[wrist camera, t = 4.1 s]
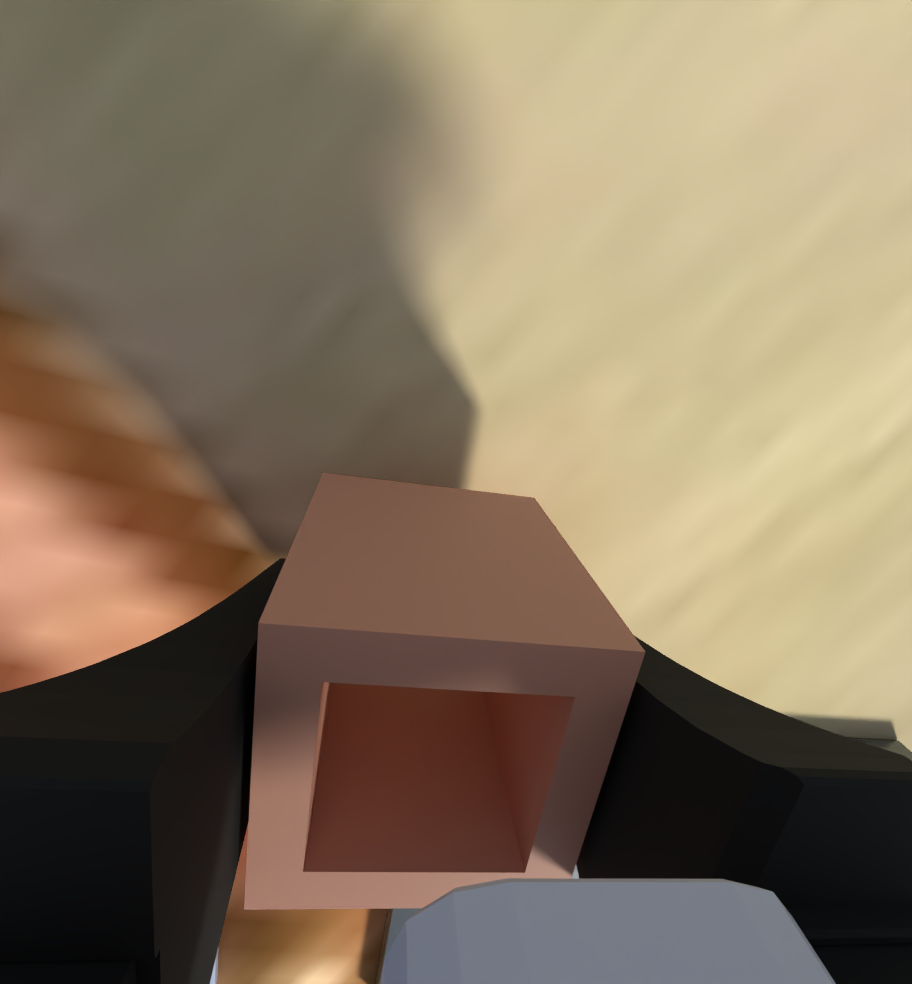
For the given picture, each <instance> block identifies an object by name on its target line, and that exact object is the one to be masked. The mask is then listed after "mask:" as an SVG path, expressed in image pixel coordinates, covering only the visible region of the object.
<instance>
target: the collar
mask: <svg viewBox="0 0 912 984" xmlns="http://www.w3.org/2000/svg"><path fill="white" fill-rule="evenodd" d="M644 655H645V651H644V649H643V648H642V646H641V645H640V644H639V642H638V641H637V639H636V638H635V637H634V635H633V634H632V633H631V631H630V630H629V628H628V627H627V626H626V624H625V623H624V621H623V620H622V619H621V617H620V616H619V614H618V613H617V612H616V610H615V609H614V608H613V606H612V605H611V603H610V602H609V601H608V599H607V598H606V596H605V595H604V594H603V592H602V591H601V590H600V588H599V587H598V585H597V584H596V583H595V581H594V580H593V578H592V577H591V576H590V574H589V573H588V572H587V570H586V569H585V567H584V566H583V565H582V563H581V562H580V560H579V559H578V558H577V556H576V555H575V554H574V552H573V551H572V549H571V548H570V547H569V545H568V544H567V542H566V541H565V540H564V538H563V537H562V535H561V534H560V533H559V531H558V530H557V529H556V527H555V526H554V524H553V523H552V522H551V520H550V519H549V517H548V516H547V515H546V513H545V512H544V511H543V509H542V508H541V506H540V505H539V504H538V502H537V501H536V499H535V498H531V497H523V496H514V495H506V494H498V493H489V492H481V491H472V490H464V489H456V488H447V487H439V486H431V485H422V484H414V483H406V482H397V481H389V480H381V479H372V478H364V477H355V476H347V475H339V474H330V473H323V474H322V476H321V478H320V481H319V483H318V485H317V488H316V490H315V492H314V495H313V497H312V499H311V502H310V504H309V506H308V509H307V511H306V513H305V516H304V518H303V520H302V523H301V525H300V527H299V530H298V532H297V534H296V537H295V539H294V541H293V544H292V546H291V548H290V551H289V553H288V555H287V558H286V560H285V562H284V565H283V567H282V569H281V572H280V574H279V576H278V579H277V581H276V583H275V586H274V588H273V590H272V593H271V595H270V597H269V600H268V602H267V604H266V607H265V609H264V611H263V614H262V616H261V618H260V621H259V623H258V642H257V662H256V682H255V703H254V723H253V743H252V764H251V784H250V804H249V824H248V845H247V865H246V885H245V906H244V910H252V909H393V908H423V907H425V906H427V905H428V904H430V903H431V902H433V901H435V900H436V899H438V898H440V897H441V896H443V895H445V894H446V893H448V892H449V891H451V890H453V889H454V888H457V887H462V886H468V885H473V884H478V883H484V882H489V881H495V880H500V879H506V878H552V879H571V878H572V875H573V872H574V869H575V866H576V863H577V860H578V857H579V854H580V850H581V847H582V844H583V841H584V838H585V835H586V832H587V829H588V826H589V823H590V820H591V817H592V814H593V811H594V808H595V805H596V802H597V799H598V795H599V792H600V789H601V786H602V783H603V780H604V777H605V774H606V771H607V768H608V765H609V762H610V759H611V756H612V753H613V750H614V747H615V743H616V740H617V737H618V734H619V731H620V728H621V725H622V722H623V719H624V716H625V713H626V710H627V707H628V704H629V701H630V698H631V695H632V692H633V688H634V685H635V682H636V679H637V676H638V673H639V670H640V667H641V664H642V661H643V658H644Z"/></svg>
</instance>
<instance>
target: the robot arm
mask: <svg viewBox="0 0 912 984" xmlns="http://www.w3.org/2000/svg"><path fill="white" fill-rule="evenodd" d="M285 560H286V559H282V558H281V559H279V560H278V561H277V562H275V563H274V564H272V565H271V566H270V567H268V568H267V569H266V570H264V571H263V572H262V573H261V574H259V575H258V576H257V577H255V578H254V579H253V580H251V581H250V582H249V583H247V584H246V585H245V586H243V587H242V588H240V589H239V590H238V591H236V592H235V593H234V594H232V595H231V596H229V597H228V598H226V599H225V600H223V601H222V602H220V603H218V604H217V605H215V606H214V607H212V608H211V609H209V610H207V611H206V612H204V613H203V614H201V615H199V616H198V617H196V618H194V619H193V620H191V621H189V622H187V623H185V624H184V625H182V626H180V627H178V628H176V629H174V630H172V631H170V632H168V633H166V634H164V635H162V636H160V637H158V638H156V639H154V640H152V641H150V642H147V643H145V644H143V645H140V646H138V647H135V648H133V649H131V650H128V651H126V652H123V653H121V654H118V655H116V656H113V657H111V658H108V659H106V660H103V661H101V662H99V663H96V664H93V665H90V666H88V667H85V668H82V669H79V670H76V671H73V672H70V673H67V674H64V675H61V676H58V677H54V678H51V679H48V680H45V681H41V682H38V683H35V684H32V685H28V686H25V687H21V688H17V689H14V690H10V691H6V692H2V693H0V984H216V982H217V978H218V946H219V941H220V937H221V933H222V929H223V924H224V920H225V916H226V911H227V907H228V903H229V899H230V895H231V891H232V886H233V882H234V878H235V874H236V870H237V866H238V862H239V857H240V853H241V849H242V845H243V841H244V837H245V833H246V829H247V825H248V821H249V804H250V784H251V764H252V743H253V723H254V703H255V682H256V662H257V642H258V623H259V621H260V618H261V616H262V614H263V611H264V609H265V607H266V604H267V602H268V600H269V597H270V595H271V593H272V590H273V588H274V586H275V583H276V581H277V579H278V576H279V574H280V572H281V569H282V567H283V565H284V562H285ZM634 637H635V636H634ZM635 638H636V639H637V641H638V642H639V644H640V645H641V646H642V648H643V649H644V651H645V655H644V658H643V661H642V664H641V667H640V670H639V673H638V676H637V679H636V682H635V685H634V688H633V692H632V695H631V698H630V701H629V704H628V707H627V710H626V713H625V716H624V719H623V722H622V725H621V728H620V731H619V734H618V737H617V740H616V743H615V747H614V750H613V753H612V756H611V759H610V762H609V765H608V768H607V771H606V774H605V777H604V780H603V783H602V786H601V789H600V792H599V795H598V799H597V802H596V805H595V808H594V811H593V814H592V817H591V820H590V823H589V826H588V829H587V832H586V835H585V838H584V841H583V844H582V847H581V850H580V854H579V857H578V860H577V863H576V865H577V870H578V875H579V879H552V878H506V879H500V880H495V881H489V882H484V883H478V884H473V885H468V886H462V887H457V888H454V889H453V890H451V891H449V892H448V893H446V894H445V895H443V896H441V897H440V898H438V899H436V900H435V901H433V902H431V903H430V904H428V905H427V906H425V907H423V908H422V909H420V910H418V911H417V912H415V913H414V914H413V915H412V916H411V917H410V918H409V919H408V920H407V921H406V922H405V924H404V926H403V928H402V929H401V931H400V933H399V934H398V936H397V938H396V940H395V941H394V943H393V945H392V946H391V948H390V950H389V952H388V953H387V955H386V957H385V959H384V965H383V970H382V976H381V981H380V984H912V761H911V760H910V759H908V758H907V757H905V756H903V755H901V754H898V753H894V752H891V751H888V750H885V749H882V748H879V747H875V746H872V745H869V744H866V743H863V742H860V741H856V740H853V739H850V738H847V737H844V736H841V735H838V734H834V733H831V732H829V731H826V730H823V729H820V728H818V727H815V726H812V725H810V724H807V723H804V722H802V721H799V720H796V719H794V718H791V717H789V716H786V715H784V714H781V713H779V712H776V711H774V710H771V709H769V708H767V707H764V706H762V705H760V704H757V703H755V702H753V701H751V700H749V699H747V698H744V697H742V696H740V695H738V694H736V693H733V692H731V691H729V690H727V689H725V688H723V687H721V686H719V685H717V684H715V683H713V682H711V681H709V680H707V679H705V678H703V677H702V676H700V675H698V674H696V673H694V672H693V671H691V670H689V669H687V668H685V667H683V666H682V665H680V664H678V663H676V662H675V661H673V660H671V659H670V658H668V657H666V656H665V655H663V654H662V653H660V652H658V651H657V650H655V649H654V648H652V647H651V646H649V645H648V644H646V643H644V642H643V641H641V640H640V639H638V638H637V637H635Z"/></svg>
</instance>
